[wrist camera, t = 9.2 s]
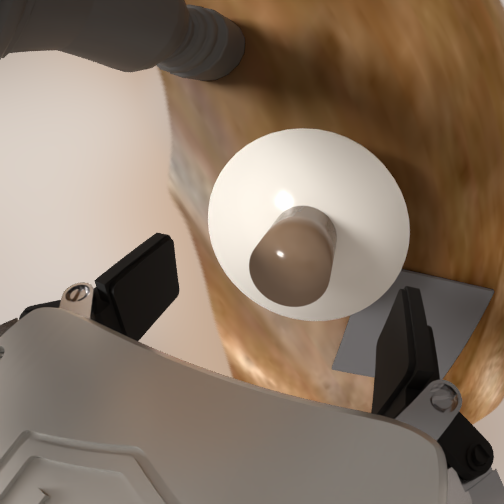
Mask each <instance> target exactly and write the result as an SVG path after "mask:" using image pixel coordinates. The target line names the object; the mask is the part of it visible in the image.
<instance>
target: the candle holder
mask: <svg viewBox="0 0 504 504" xmlns="http://www.w3.org/2000/svg"><path fill="white" fill-rule="evenodd" d="M44 50H58V51H62V52H65V53H69V54H72V55H75V56H78V57H82V58H85V59H88V60H91V61H94V62H97V63H99V64H103V65H105V66H108V67H111V68H114V69H117V70H120V71H124V72H135V71H140V70H144V69H149V68H152V67H154V66H156V65H157V66H158V67H159V68H160V69H161V70H164V71H167V72H170V73H171V74H174V75H177V76H180V77H182V78H189V79H196V80H202V81H205V80H217V79H219V78H221V77H223V76H226V75H228V74H229V73H230V72H231V71H232V70H233V69H234V68H235V67H236V66H237V65H238V64H239V62H240V60H241V58H242V56H243V54H244V50H245V38H244V36H243V33H242V31H241V29H240V28H239V27H238V26H237V25H236V24H235V23H233V22H232V21H231V20H229V19H228V18H226V17H224V16H223V15H221V14H220V13H218V12H216V11H215V10H212V9H207V8H203V7H200V6H195V5H186V3H185V1H184V0H0V59H1V58H4V57H5V56H6V55H7V54H8V53H13V52H26V51H44Z"/></svg>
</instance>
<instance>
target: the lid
mask: <svg viewBox="0 0 504 504" xmlns="http://www.w3.org/2000/svg"><path fill="white" fill-rule="evenodd" d="M208 226H209V234H210V239H211V243H212V246H213V249H214V252H215V255H216V257H217V259H218V261H219V263H220V265H221V267H222V268H223V270H224V271H225V273H226V274H227V276H228V277H229V278H230V280H231V281H232V282H233V283H234V284H235V285H236V286H237V287H238V289H239V290H240V291H241V292H243V293H244V294H245V295H246V296H247V297H249V298H250V299H251V300H253V301H254V302H256V303H257V304H259V305H260V306H262V307H264V308H266V309H268V310H270V311H272V312H275V313H277V314H279V315H282V316H286V317H289V318H293V319H299V320H307V321H327V320H333V319H339V318H343V317H346V316H349V315H352V314H354V313H357V312H359V311H361V310H363V309H365V308H366V307H368V306H370V305H371V304H373V303H374V302H375V301H377V300H378V299H379V298H380V297H381V296H382V295H383V294H384V293H385V292H386V291H387V290H388V289H389V288H390V286H391V285H392V284H393V283H394V281H395V280H396V278H397V276H398V275H399V273H400V271H401V269H402V266H403V264H404V261H405V259H406V255H407V251H408V246H409V236H410V227H409V216H408V212H407V207H406V203H405V201H404V198H403V195H402V193H401V190H400V189H399V187H398V185H397V183H396V181H395V179H394V178H393V176H392V175H391V173H390V172H389V171H388V169H387V168H386V167H385V166H384V164H383V163H382V162H381V161H380V160H379V159H378V158H377V157H376V156H375V155H374V154H373V153H372V152H370V151H369V150H368V149H366V148H365V147H363V146H362V145H361V144H359V143H357V142H355V141H353V140H352V139H350V138H348V137H345V136H343V135H340V134H337V133H334V132H331V131H326V130H321V129H311V128H299V129H288V130H283V131H279V132H275V133H271V134H269V135H266V136H263V137H261V138H259V139H257V140H255V141H253V142H252V143H250V144H248V145H246V146H245V147H244V148H243V149H241V150H240V151H239V152H238V153H236V154H235V155H234V156H233V158H232V159H231V160H230V161H229V162H228V163H227V164H226V166H225V167H224V169H223V170H222V171H221V173H220V175H219V177H218V179H217V181H216V183H215V185H214V188H213V191H212V194H211V198H210V203H209V210H208Z"/></svg>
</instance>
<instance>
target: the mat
mask: <svg viewBox="0 0 504 504" xmlns="http://www.w3.org/2000/svg"><path fill="white" fill-rule="evenodd" d="M405 286H409V287H414V288H419V289H420V292H421V296H422V301H423V305H424V310H425V315H426V320H427V325H429V326H431V327H432V330H433V335H434V341H435V347H436V353H437V359H438V367H439V374H440V380H442V379H443V377H444V376H445V375H446V373H447V372H448V370H449V369H450V367H451V366H452V365H453V363H454V362H455V360H456V359H457V357H458V356H459V354H460V352H461V351H462V349H463V348H464V346H465V345H466V343H467V341H468V340H469V338H470V336H471V335H472V333H473V331H474V330H475V328H476V326H477V324H478V323H479V321H480V319H481V317H482V315H483V313H484V311H485V310H486V308H487V306H488V304H489V302H490V300H491V298H492V296H493V293H494V290H493V289H489V288H484V287H480V286H476V285H471V284H467V283H463V282H458V281H454V280H449V279H445V278H441V277H436V276H432V275H427V274H423V273H418V272H413V271H409V270H404V269H401V271H400V273H399V275H398V276H397V278H396V280H395V281H394V283H393V284H392V285H391V286H390V288H389V289H388V290H387V291H386V292H385V293H384V294H383V295H382V296H381V297H380V298H379V299H378V300H377V301H375V302H374V303H373V304H371V305H370V306H368V307H366V308H365V309H363V310H361V311H359V312H357V313H354V314H352V315H350V318H349V321H348V324H347V327H346V330H345V333H344V336H343V338H342V341H341V344H340V347H339V350H338V352H337V355H336V358H335V360H334V363H333V365H332V369H333V370H337V371H342V372H347V373H353V374H358V375H364V376H369V377H375V364H376V345H377V341H378V338H379V336H380V334H381V332H382V329H383V327H384V325H385V323H386V320H387V318H388V316H389V313H390V311H391V308H392V306H393V304H394V301H395V299H396V296H397V293H398V291H399V289H404V287H405Z"/></svg>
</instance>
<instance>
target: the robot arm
mask: <svg viewBox="0 0 504 504" xmlns="http://www.w3.org/2000/svg"><path fill="white" fill-rule="evenodd" d="M95 284H96V288H94V289H93V287H92V285H91V284H89V283H84V282H83V283H77V284H74V285H72V286H70V287H68V288H67V289H66V290H65V291H64V293H63V295H62V298H61V300H58V301H53V302H48V303H43V304H38V305H34V306H30V307H27V308H26V309H25V310H24V311H23V313H22V314H21V315H20V318H19V320H18V318H15V319H13V320H11V321H8V322H6V323H4V324H2V325H0V504H504V486H503V484H502V481H501V479H500V477H499V475H498V472H497V470H496V469H495V470H492V468H491V465H492V463H493V458H494V456H493V450H492V446H491V445H490V443H489V442H488V441H487V440H486V439H485V438H484V437H483V436H482V435H481V434H480V433H479V432H478V430H476V428H475V427H473V425H472V424H471V423H470V422H469V421H468V420H467V419H466V418H465V417H464V416H463V415H462V414H461V413H460V412H459V410H460V408H461V406H462V398H461V394H460V392H459V390H458V389H457V388H456V386H455V385H453V384H452V383H450V382H449V381H446V380H440V374H439V367H438V359H437V353H436V347H435V341H434V335H433V330H432V327H431V326H429V325H427V320H426V315H425V310H424V305H423V301H422V296H421V292H420V289H419V288H414V287H409V286H405V287H404V289H399V291H398V293H397V296H396V299H395V301H394V304H393V306H392V308H391V311H390V313H389V316H388V318H387V320H386V323H385V325H384V327H383V329H382V332H381V334H380V336H379V338H378V341H377V345H376V364H375V380H374V392H373V403H372V413H367V412H363V411H359V410H353V409H348V408H343V407H339V406H334V405H329V404H325V403H321V402H317V401H312V400H308V399H304V398H300V397H296V396H292V395H288V394H284V393H280V392H277V391H273V390H270V389H266V388H263V387H259V386H256V385H253V384H249V383H246V382H243V381H240V380H237V379H234V378H231V377H228V376H224V375H222V374H219V373H216V372H213V371H210V370H207V369H205V368H202V367H199V366H196V365H194V364H191V363H189V362H186V361H183V360H180V359H178V358H176V357H173V356H171V355H168V354H166V353H163V352H161V351H158V350H156V349H154V348H152V347H149V346H147V345H145V344H142V343H140V342H138V341H139V339H141V337H142V336H143V335H144V334H145V333H146V331H147V330H148V329H149V328H150V327H151V326H152V325H153V323H154V322H155V321H156V320H157V319H158V318H159V317H160V316H161V314H162V313H163V312H164V311H165V310H166V309H167V308H168V306H169V305H170V304H171V303H172V302H173V301H174V300H175V298H177V296H178V294H179V283H178V276H177V268H176V259H175V250H174V242H173V240H172V239H171V237H170V236H169V235H166V234H161V233H156V234H154V235H153V236H152V237H150V238H149V239H147V240H146V241H145V242H143V243H142V244H141V245H139V246H138V247H137V248H135V249H134V250H133V251H132V252H130V253H129V254H128V255H126V256H125V257H124V258H122V259H121V260H120V261H119V262H117V263H116V264H115V265H113V266H112V267H111V268H110V269H108V270H107V271H106V272H105V273H103V274H102V275H101V276H100V277H98V278H97V279H96V280H95Z"/></svg>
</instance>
